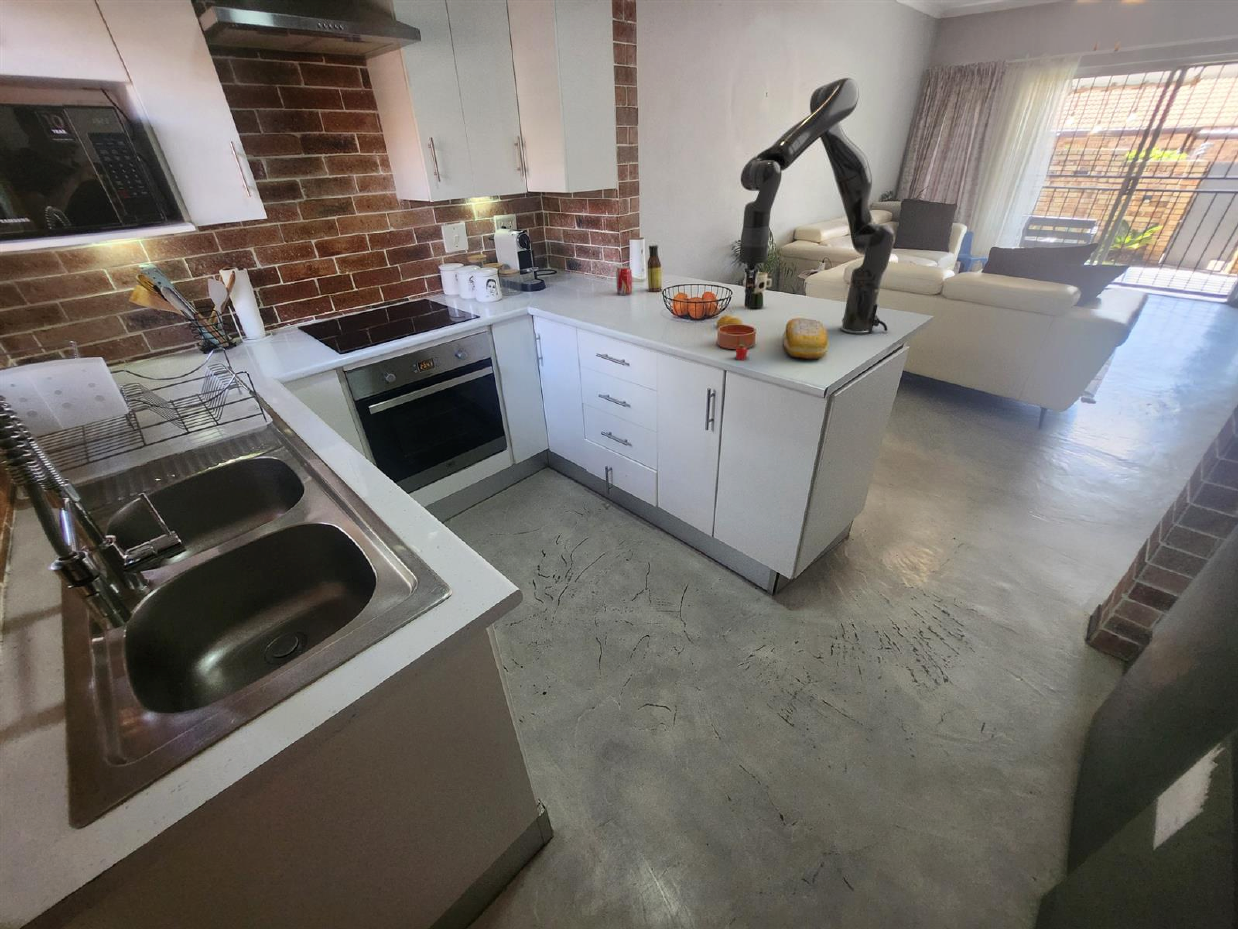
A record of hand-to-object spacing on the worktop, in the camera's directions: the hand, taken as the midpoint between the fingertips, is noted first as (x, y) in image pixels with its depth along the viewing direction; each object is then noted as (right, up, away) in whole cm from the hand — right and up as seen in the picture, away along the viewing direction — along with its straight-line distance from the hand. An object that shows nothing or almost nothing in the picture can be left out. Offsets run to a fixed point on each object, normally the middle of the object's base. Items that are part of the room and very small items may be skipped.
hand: (748, 302), depth 149 cm
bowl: (+1, -8, +19) cm, 20 cm away
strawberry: (0, -15, +7) cm, 16 cm away
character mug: (+17, +16, +56) cm, 61 cm away
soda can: (-36, +32, +86) cm, 98 cm away
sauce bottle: (-21, +34, +89) cm, 98 cm away
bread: (+21, -10, +13) cm, 27 cm away
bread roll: (+2, +2, +35) cm, 35 cm away
